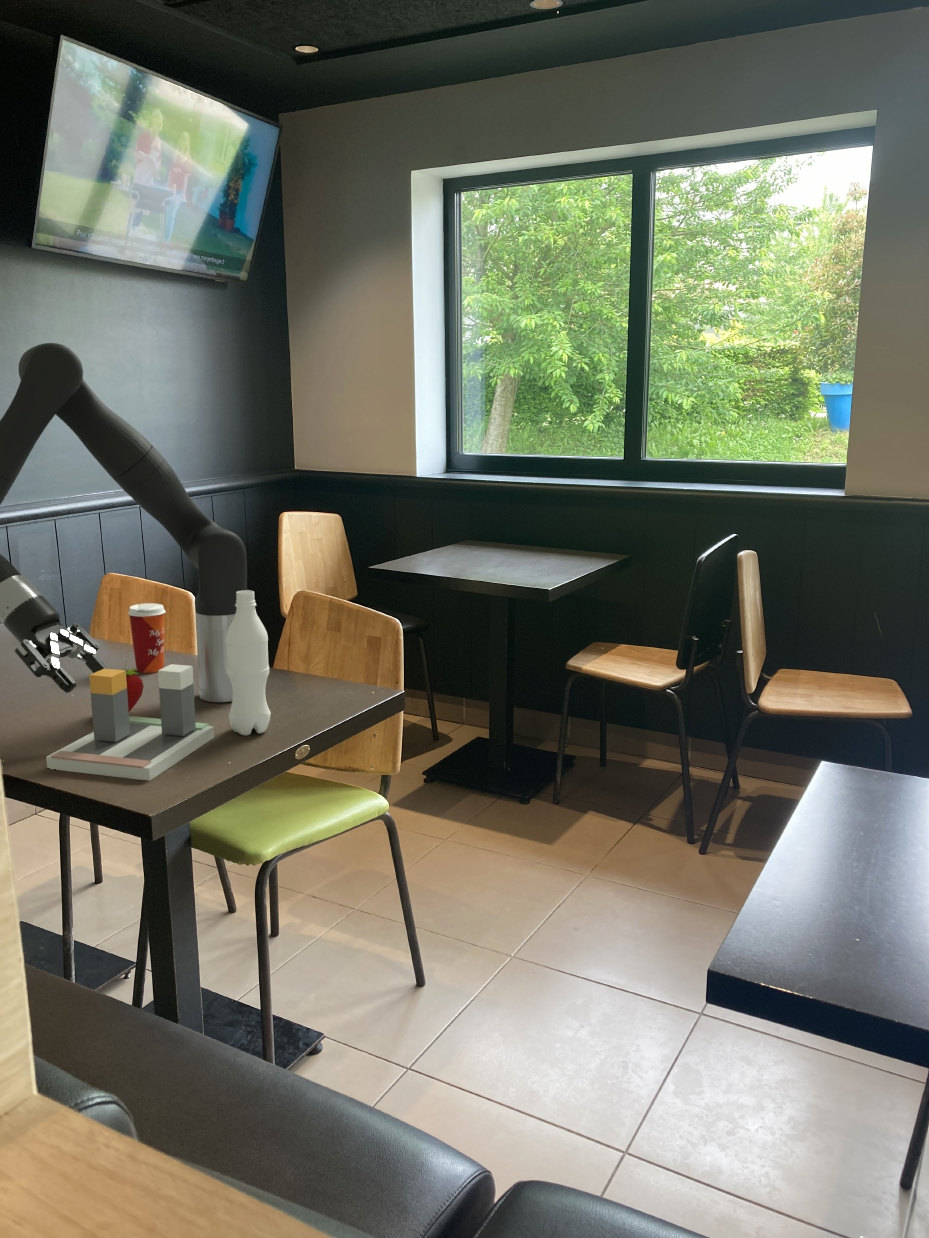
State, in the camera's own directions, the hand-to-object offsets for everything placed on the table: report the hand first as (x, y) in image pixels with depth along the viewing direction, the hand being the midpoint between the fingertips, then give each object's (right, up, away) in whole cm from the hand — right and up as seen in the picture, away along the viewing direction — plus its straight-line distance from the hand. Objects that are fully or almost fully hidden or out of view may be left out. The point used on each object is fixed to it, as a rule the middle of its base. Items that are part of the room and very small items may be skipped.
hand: (88, 682), depth 153 cm
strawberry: (-1, -7, +20) cm, 21 cm away
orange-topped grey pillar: (+3, -9, +1) cm, 10 cm away
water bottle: (+24, -10, +12) cm, 28 cm away
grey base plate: (+7, -12, +1) cm, 14 cm away
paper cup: (-6, -1, +49) cm, 49 cm away
